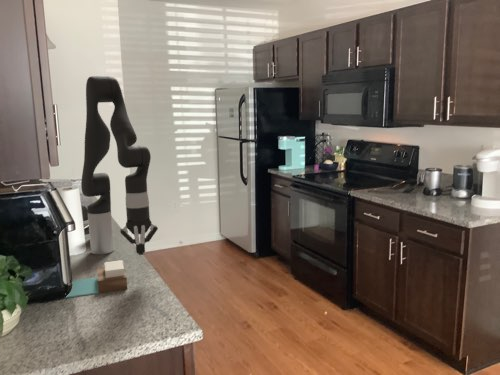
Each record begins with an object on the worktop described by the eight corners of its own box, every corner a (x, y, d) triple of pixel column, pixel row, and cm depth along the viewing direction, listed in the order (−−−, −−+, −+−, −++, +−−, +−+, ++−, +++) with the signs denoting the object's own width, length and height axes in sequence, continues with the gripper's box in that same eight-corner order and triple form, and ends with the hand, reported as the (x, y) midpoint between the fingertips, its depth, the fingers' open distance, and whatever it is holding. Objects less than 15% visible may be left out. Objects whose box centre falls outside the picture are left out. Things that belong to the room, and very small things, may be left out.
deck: (98, 278, 153) (97, 268, 152) (124, 275, 156) (123, 264, 155) (98, 292, 141) (97, 281, 140) (127, 288, 144) (126, 277, 143)
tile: (105, 268, 151) (104, 262, 151) (122, 266, 153) (122, 260, 153) (105, 277, 143) (105, 271, 143) (124, 275, 145) (124, 268, 144)
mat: (67, 282, 150) (67, 281, 150) (98, 278, 153) (98, 277, 153) (65, 298, 137) (65, 297, 137) (98, 293, 140) (98, 292, 140)
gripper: (155, 201, 153) (158, 248, 156) (116, 204, 149) (120, 253, 151) (158, 205, 146) (161, 254, 149) (117, 208, 142) (121, 259, 144)
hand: (140, 254), depth 150 cm, fingers closed
